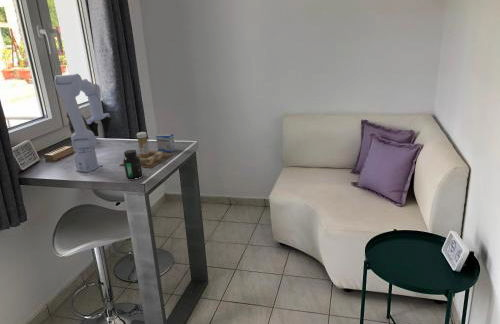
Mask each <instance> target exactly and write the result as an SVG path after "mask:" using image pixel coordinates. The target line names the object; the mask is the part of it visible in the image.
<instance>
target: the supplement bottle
mask: <svg viewBox="0 0 500 324" xmlns="http://www.w3.org/2000/svg"><path fill="white" fill-rule="evenodd" d="M123 154H124V158H123V161H122V163H124V166H123V167H124V172H125V176H126V179H127V178H128V179H135V178H139V177H141V176H142V175H144V174H143V168H141V163H140V158H139V157H138V156H137V155H138V154H137V151H136V150H135V149H128V150H125V151H124V153H123ZM142 177H143V176H142ZM142 177H141V178H142ZM128 179H127V180H128Z"/></svg>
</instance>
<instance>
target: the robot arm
mask: <svg viewBox="0 0 500 324" xmlns="http://www.w3.org/2000/svg"><path fill="white" fill-rule="evenodd" d="M53 82H54V83H53V85H54V87H55V91H56V92H57V95H58V96H59V97H61V98H62V101H63V104H64V108H65V109H66V113H67V112H68V115H69V117H70V120H71V123H72V125H73V128H74V130H75V132H74V133H73V134H72V133H71V136H70V139H71V145H72V148H73V149H74V151H76V154H75V155H74V158H73V159H74V163H75V167H76V169H75V171H76V172H84V173H90V172H92V171H93V170H96V169H98V168H100V167H102V166H103V163H99V162H98V158H97V154H96V153H97V152H96V148H97V147H98V138H97V137H99V123H97V122H98V121H100V123H101V124H102V127H103V131H104V132H105V133H109V132H110V131H109V129H110V122H111V120H112V119H111V115H110V113H109V112H105V113H104V110H103V104H102V99H101V98H102V94H101V92H102V91H101V87H100V85H99V84H97V83H92V82H91V81H90V80H88V79H87V78H86V79H84V78H82V76H81V75H80V74H78V73H75V74H63V75H62V74H60V75H59V74H57V75H55V78H54V81H53ZM81 92H82V93H83V94H84V96H85V97H87V99H88V105H89V109H90V114H91V116H90V118H88V119H85V120H86V121H87V126H88V127H89V128H90V129H91V130H92V131H90V130H88V129H86V126H85V123H84V120H83V118H82V115H83V114H82V112H81V109H80V108H79V104H78V102H77V99H76V98H77V97H78V96H80V94H81ZM81 114H82V115H81Z"/></svg>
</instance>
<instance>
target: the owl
mask: <svg viewBox="0 0 500 324" xmlns="http://www.w3.org/2000/svg"><path fill="white" fill-rule="evenodd" d="M81 115H82V118H83V120H84V123H85V126H86V129H88V130H90V131H92V130H91V129H90V128H89V127H88V126H87V121H86V120H87V119H86V118H85V117H84V115H83V114H82V113H81ZM66 117H67V118H68V126H69V131H70V133H71V135H72V134H73V133H74V132H75V130H74V128H73V125H72V123H71V120H70V117H69V115H68V112H67V111H66Z"/></svg>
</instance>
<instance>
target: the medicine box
mask: <svg viewBox="0 0 500 324" xmlns="http://www.w3.org/2000/svg"><path fill="white" fill-rule="evenodd" d="M155 140H156V147H157V151H163V153H173V152H174V151H175V150H176V144H175V138H174V134H173V133H158V134H156V135H155Z"/></svg>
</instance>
